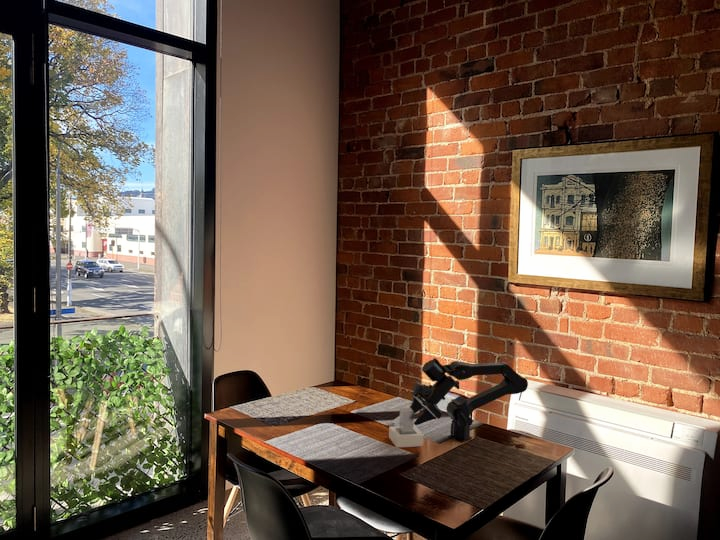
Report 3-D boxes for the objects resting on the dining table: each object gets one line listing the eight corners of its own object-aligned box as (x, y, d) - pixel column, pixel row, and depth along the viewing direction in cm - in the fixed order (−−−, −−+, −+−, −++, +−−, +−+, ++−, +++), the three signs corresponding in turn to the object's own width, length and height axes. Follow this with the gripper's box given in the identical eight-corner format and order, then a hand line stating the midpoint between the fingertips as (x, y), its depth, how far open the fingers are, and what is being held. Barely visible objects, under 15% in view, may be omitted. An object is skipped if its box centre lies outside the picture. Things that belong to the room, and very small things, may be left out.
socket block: (414, 435, 220) (414, 425, 220) (423, 445, 210) (423, 435, 210) (388, 437, 218) (389, 426, 217) (396, 447, 208) (397, 436, 208)
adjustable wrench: (393, 429, 228) (394, 424, 227) (379, 426, 231) (379, 421, 231) (421, 411, 249) (421, 407, 249) (407, 409, 252) (407, 405, 252)
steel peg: (409, 439, 216) (410, 407, 215) (412, 443, 212) (413, 411, 211) (398, 439, 215) (400, 408, 214) (402, 443, 211) (403, 411, 210)
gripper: (417, 368, 222) (389, 398, 221) (435, 381, 204) (404, 414, 203) (436, 387, 225) (408, 417, 223) (455, 402, 207) (424, 434, 205)
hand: (410, 420), depth 214 cm, fingers open, 9 cm apart
